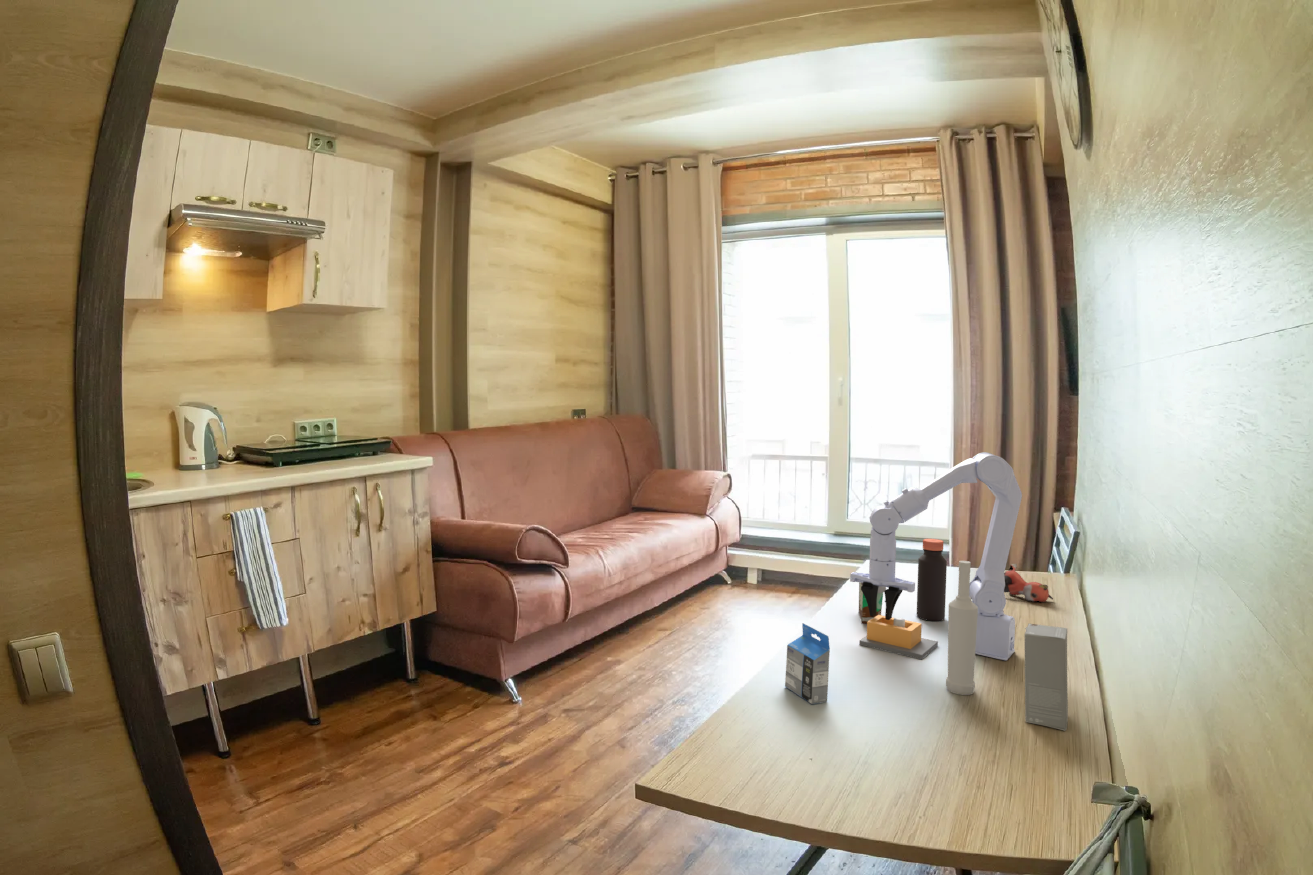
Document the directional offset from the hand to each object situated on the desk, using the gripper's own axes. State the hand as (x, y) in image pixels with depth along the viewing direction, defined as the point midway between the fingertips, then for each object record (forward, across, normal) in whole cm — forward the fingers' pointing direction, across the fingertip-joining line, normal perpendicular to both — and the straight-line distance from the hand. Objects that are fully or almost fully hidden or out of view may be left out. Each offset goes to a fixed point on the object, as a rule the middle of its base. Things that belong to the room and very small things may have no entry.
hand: (880, 617), depth 163 cm
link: (+5, +3, 0) cm, 6 cm away
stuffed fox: (+6, +19, +62) cm, 65 cm away
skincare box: (+6, +37, -20) cm, 43 cm away
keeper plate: (+6, +4, 0) cm, 7 cm away
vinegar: (+6, +3, +26) cm, 27 cm away
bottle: (+6, +22, -17) cm, 29 cm away
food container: (+6, -8, +15) cm, 18 cm away
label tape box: (+6, 0, -38) cm, 38 cm away
